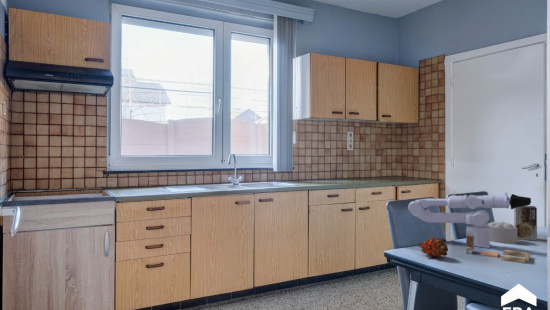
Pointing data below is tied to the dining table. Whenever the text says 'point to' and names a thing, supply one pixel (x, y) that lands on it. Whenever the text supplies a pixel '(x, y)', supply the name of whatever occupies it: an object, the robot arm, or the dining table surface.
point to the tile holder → (515, 259)
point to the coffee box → (526, 222)
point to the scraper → (470, 244)
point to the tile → (489, 254)
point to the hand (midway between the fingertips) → (530, 201)
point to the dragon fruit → (434, 247)
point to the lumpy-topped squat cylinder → (503, 232)
